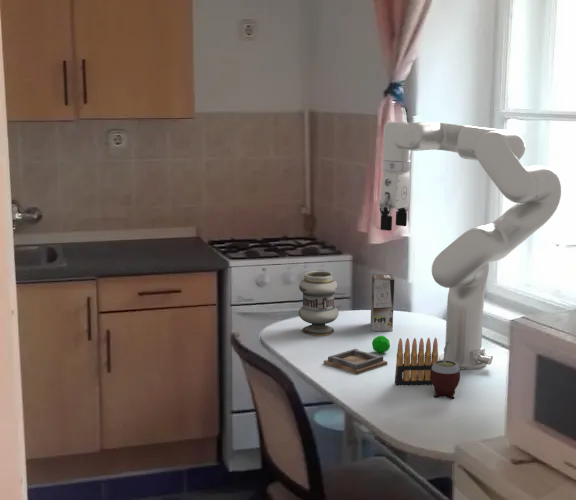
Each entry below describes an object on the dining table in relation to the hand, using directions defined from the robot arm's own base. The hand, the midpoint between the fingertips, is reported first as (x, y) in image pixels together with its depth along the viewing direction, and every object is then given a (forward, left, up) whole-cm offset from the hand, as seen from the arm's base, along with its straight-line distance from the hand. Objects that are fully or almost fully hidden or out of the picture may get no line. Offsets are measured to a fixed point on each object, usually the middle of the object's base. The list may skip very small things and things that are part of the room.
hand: (393, 227), depth 240 cm
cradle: (-5, +21, -34) cm, 40 cm away
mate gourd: (-36, +24, -34) cm, 55 cm away
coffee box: (+14, -13, -34) cm, 40 cm away
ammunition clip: (-26, +22, -35) cm, 48 cm away
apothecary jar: (+24, +5, -34) cm, 42 cm away
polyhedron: (-3, +8, -35) cm, 35 cm away
